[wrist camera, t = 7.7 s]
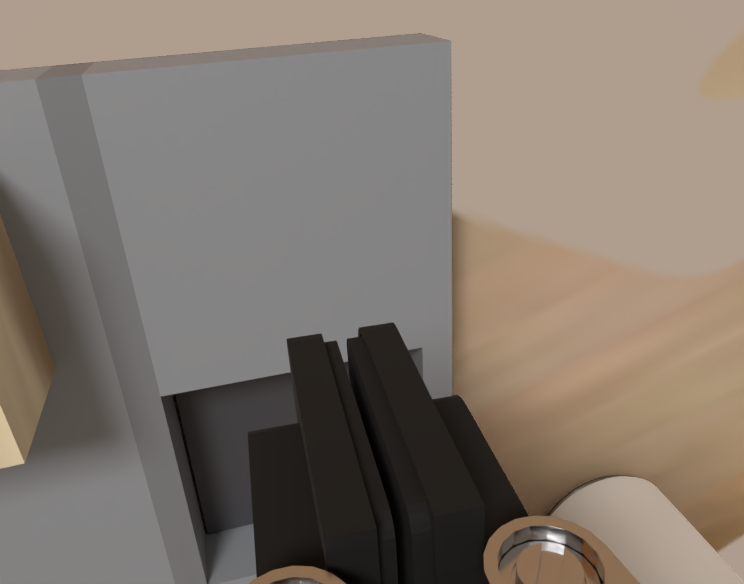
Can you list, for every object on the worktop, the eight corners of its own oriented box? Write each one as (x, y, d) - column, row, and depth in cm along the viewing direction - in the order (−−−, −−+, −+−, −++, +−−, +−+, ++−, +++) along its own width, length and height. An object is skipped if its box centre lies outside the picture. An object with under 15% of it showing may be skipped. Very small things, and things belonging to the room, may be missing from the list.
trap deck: (420, 33, 19) (482, 48, 15) (434, 655, 32) (470, 751, 28) (-409, 106, 15) (-618, 153, 11) (-16, 784, 28) (-49, 918, 24)
